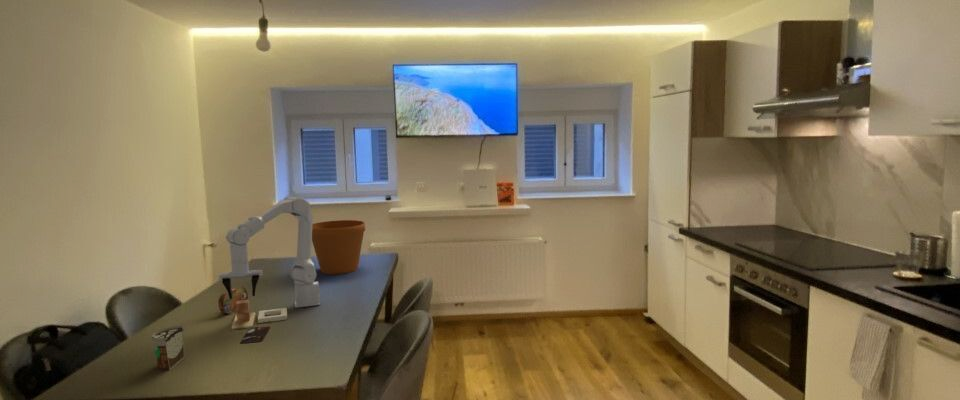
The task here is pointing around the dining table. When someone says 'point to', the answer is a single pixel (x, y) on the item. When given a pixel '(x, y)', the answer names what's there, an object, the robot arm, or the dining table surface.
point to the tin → (232, 300)
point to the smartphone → (255, 335)
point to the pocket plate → (272, 312)
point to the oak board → (244, 324)
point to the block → (243, 311)
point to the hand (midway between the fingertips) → (242, 296)
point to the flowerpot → (338, 245)
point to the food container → (168, 346)
